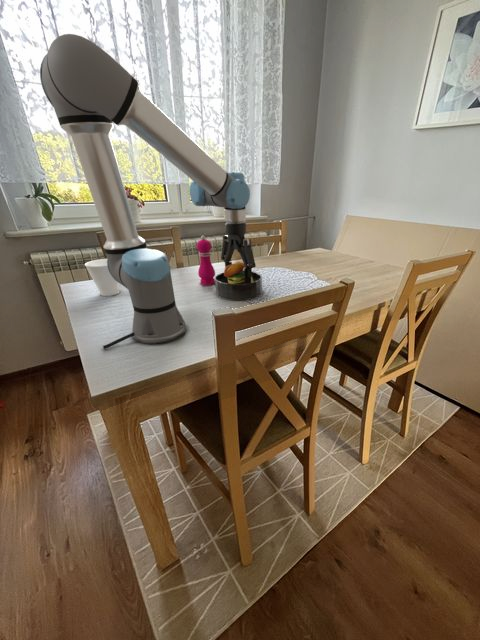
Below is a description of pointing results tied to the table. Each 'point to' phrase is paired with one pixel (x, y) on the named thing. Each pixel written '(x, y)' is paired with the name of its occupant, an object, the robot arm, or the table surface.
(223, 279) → the bowl
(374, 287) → the table surface
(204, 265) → the pepper mill
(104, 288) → the cup
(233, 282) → the cheeseburger
